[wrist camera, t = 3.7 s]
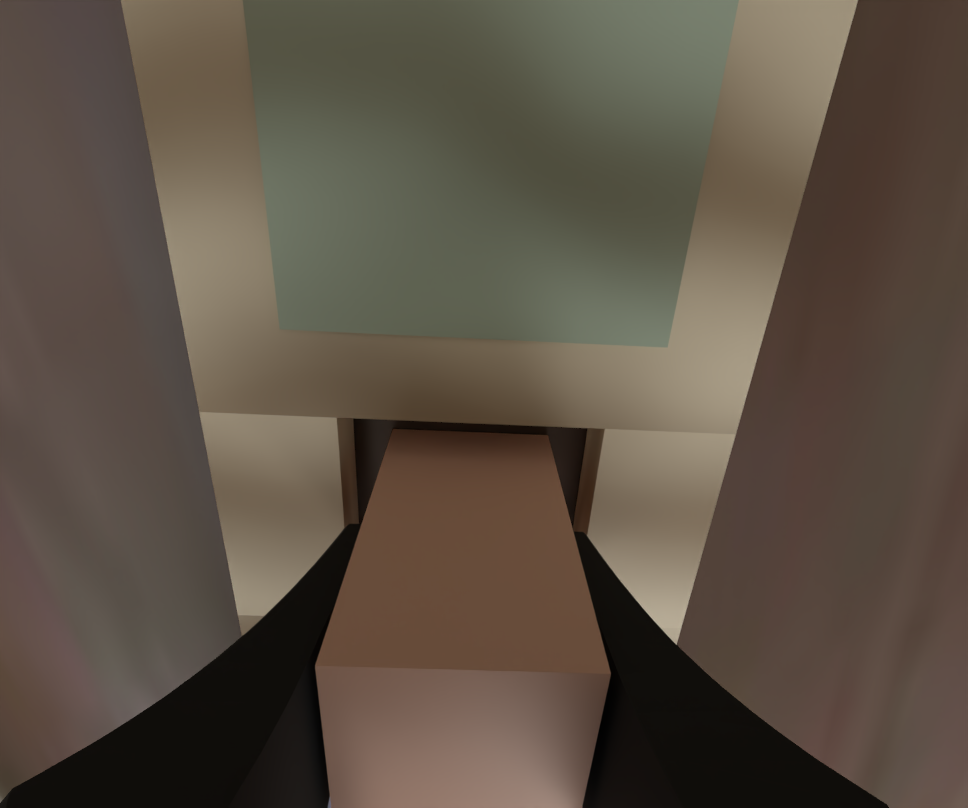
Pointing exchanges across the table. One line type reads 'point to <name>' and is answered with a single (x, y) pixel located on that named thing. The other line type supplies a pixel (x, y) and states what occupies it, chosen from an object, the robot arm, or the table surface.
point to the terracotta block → (463, 635)
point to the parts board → (478, 244)
